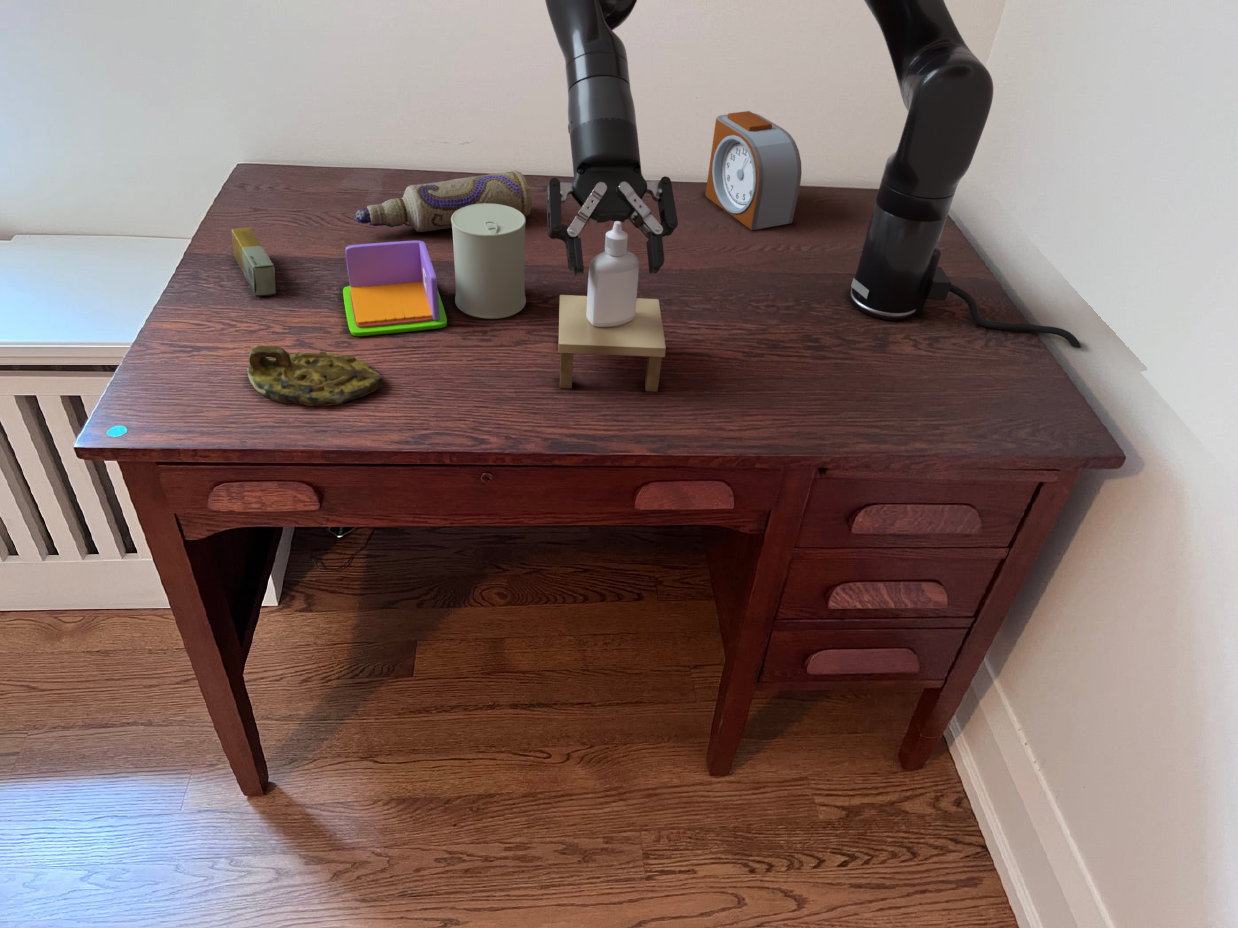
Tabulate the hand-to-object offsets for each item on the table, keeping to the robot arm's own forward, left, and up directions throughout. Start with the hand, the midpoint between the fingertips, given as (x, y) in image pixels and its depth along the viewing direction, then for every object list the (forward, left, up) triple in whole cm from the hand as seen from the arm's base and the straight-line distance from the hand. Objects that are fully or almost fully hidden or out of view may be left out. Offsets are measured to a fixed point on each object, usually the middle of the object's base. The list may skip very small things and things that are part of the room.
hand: (617, 273), depth 97 cm
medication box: (+46, -19, -13) cm, 52 cm away
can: (+15, -15, -13) cm, 25 cm away
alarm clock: (-24, -49, -13) cm, 56 cm away
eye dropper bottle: (0, -1, -7) cm, 7 cm away
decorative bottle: (+23, -38, -13) cm, 47 cm away
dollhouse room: (+27, -12, -13) cm, 33 cm away
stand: (0, -1, -13) cm, 13 cm away
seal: (+33, +5, -13) cm, 36 cm away
